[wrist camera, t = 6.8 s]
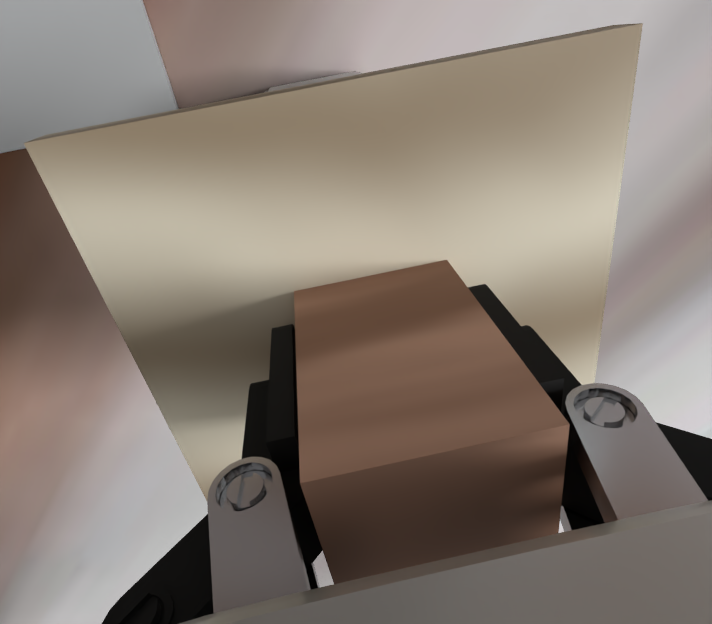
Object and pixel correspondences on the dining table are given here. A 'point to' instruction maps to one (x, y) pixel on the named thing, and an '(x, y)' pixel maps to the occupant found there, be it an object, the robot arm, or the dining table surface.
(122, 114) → the mat
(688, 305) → the dining table surface
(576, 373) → the lid
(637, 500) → the robot arm
